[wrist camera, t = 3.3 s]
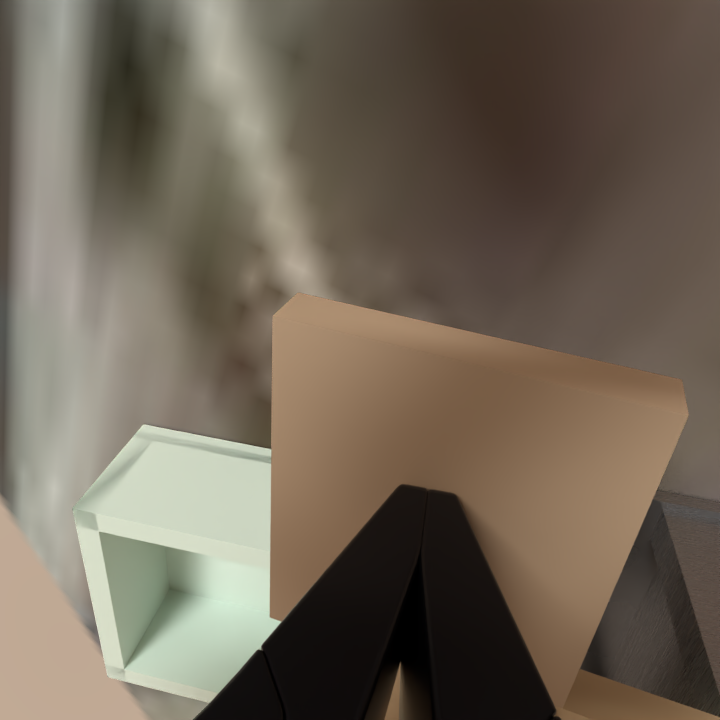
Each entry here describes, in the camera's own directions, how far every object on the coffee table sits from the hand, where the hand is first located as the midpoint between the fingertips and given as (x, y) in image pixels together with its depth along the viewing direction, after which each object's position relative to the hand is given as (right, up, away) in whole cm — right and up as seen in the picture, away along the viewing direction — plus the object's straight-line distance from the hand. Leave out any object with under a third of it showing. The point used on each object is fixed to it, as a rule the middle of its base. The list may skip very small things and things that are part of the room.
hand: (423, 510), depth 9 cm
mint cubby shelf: (-2, -3, +10) cm, 11 cm away
